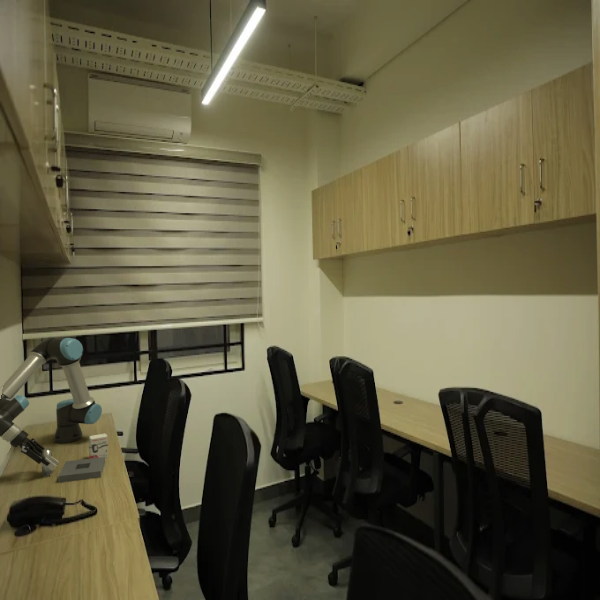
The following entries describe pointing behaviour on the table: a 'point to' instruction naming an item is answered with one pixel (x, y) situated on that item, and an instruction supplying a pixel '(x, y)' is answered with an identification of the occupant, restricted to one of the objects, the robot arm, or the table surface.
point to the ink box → (98, 446)
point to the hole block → (82, 469)
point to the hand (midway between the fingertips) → (55, 466)
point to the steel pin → (45, 470)
